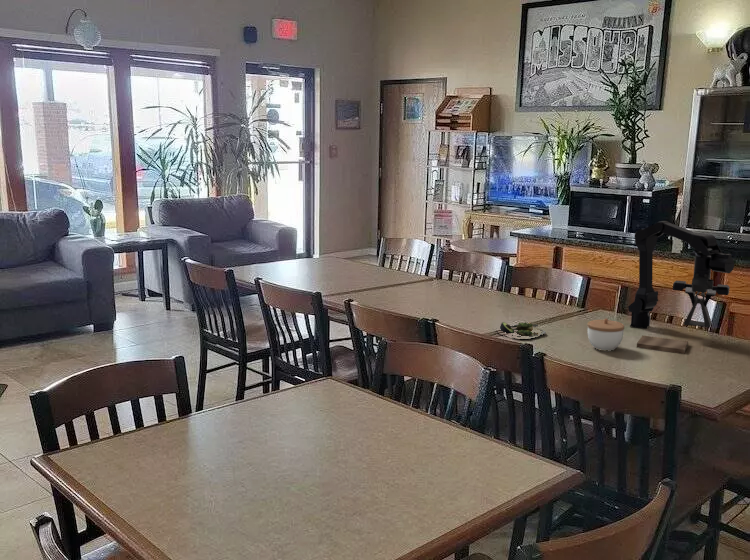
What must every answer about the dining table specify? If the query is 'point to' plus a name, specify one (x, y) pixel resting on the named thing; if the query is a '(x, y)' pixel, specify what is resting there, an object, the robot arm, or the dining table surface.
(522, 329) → the salad plate
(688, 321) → the gray triangular stand
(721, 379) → the dining table surface
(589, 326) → the lidded bowl
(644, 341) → the walnut board
